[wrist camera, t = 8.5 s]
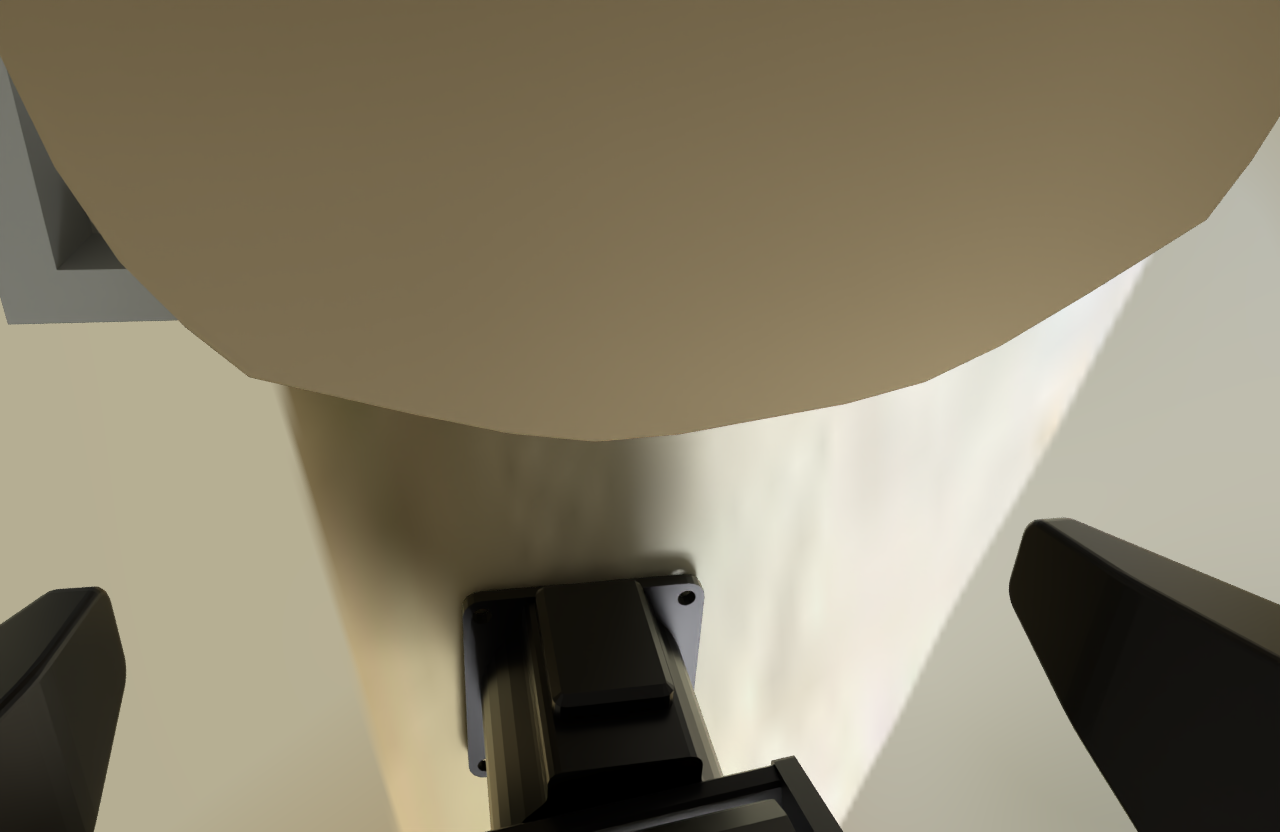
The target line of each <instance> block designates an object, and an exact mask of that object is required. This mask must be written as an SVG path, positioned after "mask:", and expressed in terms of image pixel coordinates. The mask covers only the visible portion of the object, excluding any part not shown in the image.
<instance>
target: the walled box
mask: <svg viewBox="0 0 1280 832" xmlns="http://www.w3.org/2000/svg"><path fill="white" fill-rule="evenodd" d="M0 298H1V301H2V305H3V308H4V312H5V315H6V319H7V322H8V324H44V323H85V322H126V321H167V320H178V319H177V318H176V317H175V316H173V315H172V314H171V313H170V312H169V311H168V310H167V309H166V308H165V307H164V306H163V305H162V304H161V303H160V302H159V301H158V300H157V299H156V298H155V297H154V296H153V295H152V294H151V293H150V292H149V291H148V290H147V289H146V288H145V287H144V286H143V285H142V284H141V283H140V282H139V281H138V280H137V279H136V278H135V277H134V276H133V275H132V274H131V273H130V272H129V271H128V270H127V269H126V268H125V267H124V266H123V265H122V264H121V263H120V262H119V260H118V259H117V257H116V256H115V255H114V253H113V252H112V250H111V249H110V247H109V246H108V244H107V243H106V241H105V240H104V239H103V237H102V236H101V234H100V233H99V231H98V230H97V228H96V227H95V225H94V224H93V222H92V221H91V220H90V218H89V217H88V215H87V214H86V212H85V211H84V209H83V208H82V206H81V205H80V204H79V202H78V201H77V199H76V198H75V196H74V195H73V193H72V192H71V190H70V189H69V187H68V186H67V185H66V183H65V182H64V180H63V179H62V177H61V176H60V174H59V173H58V171H57V170H56V168H55V167H54V165H53V163H52V161H51V159H50V157H49V155H48V153H47V151H46V149H45V146H44V144H43V142H42V140H41V138H40V136H39V134H38V132H37V130H36V128H35V126H34V124H33V122H32V120H31V118H30V116H29V114H28V112H27V110H26V108H25V106H24V104H23V101H22V99H21V97H20V95H19V93H18V91H17V89H16V87H15V85H14V83H13V81H12V79H11V77H10V75H9V73H8V71H7V69H6V67H5V65H4V63H3V61H2V58H1V56H0Z"/></svg>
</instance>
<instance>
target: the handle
mask: <svg viewBox="0 0 1280 832" xmlns="http://www.w3.org/2000/svg"><path fill="white" fill-rule="evenodd" d="M0 56H1V58H2V61H3V63H4V65H5V67H6V69H7V71H8V73H9V75H10V77H11V79H12V81H13V83H14V85H15V87H16V89H17V91H18V93H19V95H20V97H21V99H22V101H23V104H24V106H25V108H26V110H27V112H28V114H29V116H30V118H31V120H32V122H33V124H34V126H35V128H36V130H37V132H38V134H39V136H40V138H41V140H42V142H43V144H44V146H45V149H46V151H47V153H48V155H49V157H50V159H51V161H52V163H53V165H54V167H55V168H56V170H57V171H58V173H59V174H60V176H61V177H62V179H63V180H64V182H65V183H66V185H67V186H68V187H69V189H70V190H71V192H72V193H73V195H74V196H75V198H76V199H77V201H78V202H79V204H80V205H81V206H82V208H83V209H84V211H85V212H86V214H87V215H88V217H89V218H90V220H91V221H92V222H93V224H94V225H95V227H96V228H97V230H98V231H99V233H100V234H101V236H102V237H103V239H104V240H105V241H106V243H107V244H108V246H109V247H110V249H111V250H112V252H113V253H114V255H115V256H116V257H117V259H118V260H119V262H120V263H121V264H122V265H123V266H124V267H125V268H126V269H127V270H128V271H129V272H130V273H131V274H132V275H133V276H134V277H135V278H136V279H137V280H138V281H139V282H140V283H141V284H142V285H143V286H144V287H145V288H146V289H147V290H148V291H149V292H150V293H151V294H152V295H153V296H154V297H155V298H156V299H157V300H158V301H159V302H160V303H161V304H162V305H163V306H164V307H165V308H166V309H167V310H168V311H169V312H170V313H171V314H172V315H173V316H175V317H176V318H177V319H178V320H179V321H180V322H181V323H182V324H183V325H184V326H185V327H186V328H187V329H188V330H190V331H191V332H192V333H193V334H195V335H196V336H197V337H199V338H200V339H201V340H202V341H204V342H205V343H206V344H207V345H209V346H210V347H211V348H213V349H214V350H215V351H216V352H218V353H219V354H220V355H222V356H223V357H224V358H225V359H227V360H228V361H229V362H230V363H232V364H233V365H235V366H236V367H237V368H238V369H239V370H241V371H242V372H243V373H245V374H246V375H247V376H248V377H251V378H255V379H260V380H264V381H268V382H273V383H277V384H281V385H286V386H290V387H295V388H299V389H303V390H308V391H312V392H317V393H321V394H325V395H330V396H334V397H339V398H343V399H347V400H352V401H356V402H361V403H365V404H369V405H374V406H378V407H383V408H387V409H391V410H396V411H400V412H405V413H410V414H415V415H420V416H425V417H430V418H435V419H440V420H444V421H449V422H454V423H459V424H464V425H469V426H474V427H479V428H484V429H489V430H494V431H499V432H504V433H509V434H519V435H530V436H540V437H550V438H561V439H571V440H582V441H592V442H599V441H610V440H621V439H632V438H643V437H654V436H665V435H676V434H684V433H689V432H695V431H700V430H706V429H711V428H716V427H722V426H727V425H733V424H738V423H744V422H749V421H755V420H760V419H766V418H771V417H777V416H782V415H788V414H793V413H798V412H804V411H809V410H815V409H820V408H826V407H831V406H837V405H842V404H847V403H851V402H854V401H858V400H862V399H865V398H869V397H872V396H876V395H880V394H883V393H887V392H890V391H894V390H898V389H901V388H905V387H908V386H912V385H916V384H919V383H923V382H926V381H928V380H930V379H932V378H934V377H936V376H938V375H941V374H943V373H945V372H947V371H949V370H951V369H953V368H955V367H957V366H959V365H961V364H964V363H966V362H968V361H970V360H972V359H974V358H976V357H978V356H980V355H982V354H985V353H987V352H989V351H991V350H993V349H995V348H997V347H999V346H1001V345H1003V344H1004V343H1006V342H1008V341H1010V340H1011V339H1013V338H1015V337H1016V336H1018V335H1020V334H1021V333H1023V332H1025V331H1026V330H1028V329H1030V328H1031V327H1033V326H1035V325H1036V324H1038V323H1040V322H1041V321H1043V320H1045V319H1046V318H1048V317H1050V316H1052V315H1053V314H1055V313H1057V312H1058V311H1060V310H1062V309H1063V308H1065V307H1067V306H1068V305H1070V304H1072V303H1073V302H1075V301H1077V300H1078V299H1080V298H1082V297H1083V296H1085V295H1087V294H1089V293H1090V292H1092V291H1093V290H1095V289H1097V288H1098V287H1100V286H1101V285H1103V284H1105V283H1106V282H1108V281H1109V280H1111V279H1113V278H1114V277H1116V276H1117V275H1119V274H1121V273H1122V272H1124V271H1125V270H1127V269H1129V268H1130V267H1132V266H1133V265H1135V264H1137V263H1138V262H1140V261H1141V260H1143V259H1145V258H1146V257H1148V256H1149V255H1151V254H1153V253H1154V252H1156V251H1157V250H1159V249H1161V248H1162V247H1164V246H1165V245H1167V244H1168V243H1170V242H1172V241H1173V240H1175V239H1176V238H1178V237H1180V236H1181V235H1183V234H1184V233H1186V232H1188V231H1189V230H1191V229H1192V228H1194V227H1196V226H1197V225H1199V224H1200V223H1202V222H1204V221H1205V220H1207V218H1208V217H1209V216H1210V214H1211V213H1212V212H1213V210H1214V209H1215V208H1216V207H1217V205H1218V204H1219V203H1220V201H1221V200H1222V199H1223V197H1224V196H1225V195H1226V193H1227V192H1228V191H1229V190H1230V188H1231V187H1232V186H1233V184H1234V183H1235V182H1236V180H1237V179H1238V178H1239V176H1240V175H1241V174H1242V172H1243V171H1244V170H1245V169H1246V167H1247V166H1248V165H1249V163H1250V162H1251V161H1252V159H1253V158H1254V156H1255V154H1256V153H1257V151H1258V150H1259V148H1260V147H1261V145H1262V143H1263V142H1264V140H1265V139H1266V137H1267V135H1268V134H1269V132H1270V131H1271V129H1272V127H1273V126H1274V124H1275V123H1276V121H1277V120H1278V118H1279V117H1280V0H0Z"/></svg>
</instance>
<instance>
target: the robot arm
mask: <svg viewBox="0 0 1280 832" xmlns="http://www.w3.org/2000/svg"><path fill="white" fill-rule="evenodd" d="M684 591H691V592H690V593H689V594H688V595H685V596H679V595H680V594H681V593H682V592H684ZM1009 595H1010V600H1011V603H1012V606H1013V608H1014V610H1015V612H1016V614H1017V617H1018V618H1019V620H1020V622H1021V625H1022V627H1023V629H1024V631H1025V633H1026V635H1027V636H1028V639H1029V641H1030V643H1031V645H1032V647H1033V649H1034V651H1035V653H1036V655H1037V657H1038V659H1039V661H1040V663H1041V665H1042V667H1043V669H1044V671H1045V673H1046V675H1047V677H1048V679H1049V681H1050V683H1051V685H1052V687H1053V689H1054V691H1055V693H1056V695H1057V697H1058V699H1059V701H1060V703H1061V705H1062V707H1063V709H1064V711H1065V713H1066V715H1067V716H1068V719H1069V720H1070V722H1071V724H1072V726H1073V728H1074V730H1075V731H1076V733H1077V735H1078V736H1079V738H1080V740H1081V741H1082V743H1083V745H1084V746H1085V748H1086V750H1087V751H1088V753H1089V754H1090V756H1091V758H1092V759H1093V761H1094V763H1095V764H1096V766H1097V767H1098V769H1099V771H1100V772H1101V774H1102V775H1103V777H1104V779H1105V780H1106V782H1107V783H1108V785H1109V786H1110V788H1111V790H1112V791H1113V793H1114V795H1115V796H1116V798H1117V799H1118V801H1119V803H1120V804H1121V806H1122V807H1123V809H1124V811H1125V812H1126V814H1127V815H1128V817H1129V819H1130V820H1131V822H1132V823H1133V825H1134V827H1135V828H1136V830H1137V831H1138V832H1280V605H1279V604H1276V603H1274V602H1272V601H1269V600H1267V599H1264V598H1262V597H1260V596H1257V595H1255V594H1252V593H1250V592H1247V591H1245V590H1243V589H1240V588H1238V587H1236V586H1233V585H1231V584H1228V583H1226V582H1223V581H1221V580H1219V579H1216V578H1214V577H1211V576H1209V575H1207V574H1204V573H1202V572H1199V571H1196V570H1195V569H1192V568H1189V567H1187V566H1185V565H1182V564H1180V563H1178V562H1175V561H1173V560H1170V559H1168V558H1166V557H1163V556H1161V555H1158V554H1156V553H1154V552H1151V551H1149V550H1146V549H1144V548H1141V547H1139V546H1137V545H1134V544H1132V543H1129V542H1127V541H1125V540H1122V539H1120V538H1117V537H1115V536H1112V535H1110V534H1108V533H1105V532H1103V531H1100V530H1098V529H1095V528H1093V527H1091V526H1088V525H1086V524H1084V523H1081V522H1079V521H1076V520H1074V519H1071V518H1051V519H1038V520H1034V521H1032V522H1031V523H1029V525H1028V526H1027V527H1026V528H1025V530H1024V533H1023V536H1022V540H1021V543H1020V546H1019V550H1018V553H1017V557H1016V560H1015V564H1014V567H1013V571H1012V574H1011V577H1010V582H1009ZM703 605H704V591H703V588H702V586H701V583H700V581H699V580H698V579H697V577H695V576H693V575H687V574H683V575H671V576H659V577H647V578H635V579H623V580H611V581H599V582H587V583H575V584H563V585H551V586H539V587H527V588H515V589H503V590H492V591H480V592H476V593H473V594H471V595H470V596H468V597H467V598H466V599H465V600H464V602H463V605H462V621H463V644H464V668H465V691H466V714H467V737H468V760H469V769H470V772H471V773H472V774H474V775H475V776H478V777H487V784H488V797H489V810H490V823H491V831H487V832H843V831H842V829H841V828H840V826H839V825H838V823H837V821H836V820H835V818H834V817H833V815H832V814H831V812H830V811H829V809H828V807H827V806H826V804H825V803H824V801H823V800H822V798H821V796H820V795H819V793H818V792H817V790H816V789H815V787H814V786H813V784H812V782H811V781H810V779H809V778H808V776H807V775H806V773H805V771H804V770H803V768H802V767H801V765H800V764H799V762H798V761H797V759H796V757H795V756H790V757H785V758H781V759H777V760H772V761H771V765H770V766H766V767H761V768H757V769H753V770H748V771H744V772H740V773H735V774H731V775H727V776H723V774H722V771H721V768H720V765H719V762H718V759H717V756H716V753H715V751H714V748H713V745H712V742H711V739H710V736H709V733H708V730H707V727H706V724H705V722H704V719H703V716H702V713H701V710H700V707H699V704H698V701H697V698H696V695H695V693H694V685H695V676H696V667H697V658H698V649H699V640H700V631H701V623H702V614H703ZM479 609H487V610H489V611H488V612H487V613H483V614H476V613H475V611H476V610H479ZM125 682H126V663H125V656H124V652H123V648H122V644H121V640H120V636H119V632H118V628H117V624H116V620H115V616H114V612H113V609H112V605H111V601H110V598H109V596H108V594H107V593H106V591H105V590H103V589H101V588H100V587H82V588H68V589H56V590H52V591H49V592H47V593H46V594H44V595H42V596H41V597H40V598H38V599H37V600H35V601H34V602H32V603H31V604H29V605H28V606H27V607H25V608H24V609H22V610H21V611H19V612H18V613H16V614H15V615H13V616H12V617H11V618H9V619H8V620H6V621H5V622H3V623H2V624H0V832H94V829H95V825H96V820H97V816H98V811H99V806H100V802H101V797H102V792H103V787H104V783H105V778H106V773H107V768H108V764H109V759H110V754H111V750H112V745H113V740H114V735H115V731H116V726H117V721H118V717H119V712H120V707H121V703H122V698H123V693H124V688H125ZM484 759H486V761H485V760H484Z"/></svg>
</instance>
